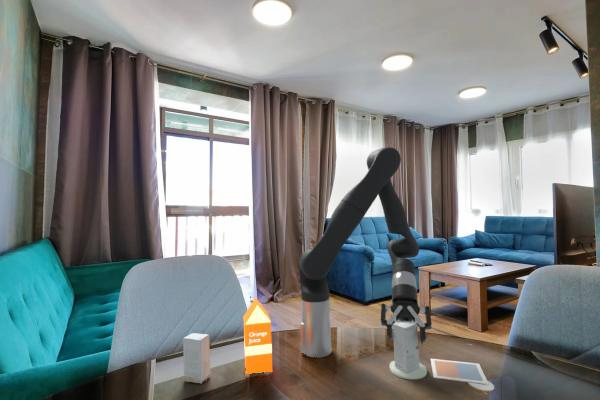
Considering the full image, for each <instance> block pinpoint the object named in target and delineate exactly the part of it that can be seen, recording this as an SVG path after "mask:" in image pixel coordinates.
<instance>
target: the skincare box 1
mask: <svg viewBox="0 0 600 400" xmlns="http://www.w3.org/2000/svg"><path fill="white" fill-rule="evenodd" d="M182 345H183V347H182V348H183V350H182V351H183V376H184V375H185V376H187V377H191V378H193V379H196V380H200V381H202V380H203V379H205V378H206V377H207V376H208V375H209V374H210V375H211V352H210V351H211V350H210V349H211V346H210V334H207V333H206V334H205V333H197V332H196V333H195V332H191V333H190V334H188V335H187V336H185V337H183V338H182Z"/></svg>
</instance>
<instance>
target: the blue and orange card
mask: <svg viewBox="0 0 600 400" xmlns="http://www.w3.org/2000/svg"><path fill="white" fill-rule="evenodd" d="M430 364H431V370H432V377H433V379H440V380H441V379H442V380H449V381H455V382H464V383H470V384H471V383H472V384H478V385H479V384H481V385H488V386H489V382H488V379H487V377H486V375H485V372H484V371H483V369H482V367H481V365H480V363H475V362H467V361H459V360H450V359H449V360H448V359H447V360H446V359H439V358H430Z"/></svg>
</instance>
